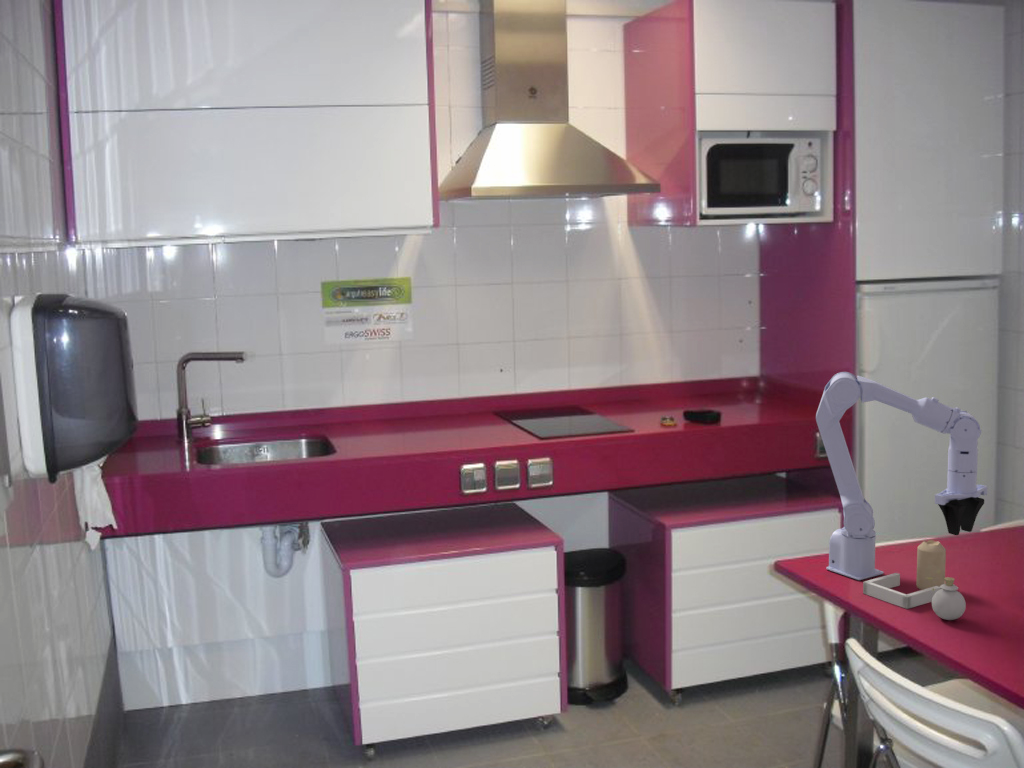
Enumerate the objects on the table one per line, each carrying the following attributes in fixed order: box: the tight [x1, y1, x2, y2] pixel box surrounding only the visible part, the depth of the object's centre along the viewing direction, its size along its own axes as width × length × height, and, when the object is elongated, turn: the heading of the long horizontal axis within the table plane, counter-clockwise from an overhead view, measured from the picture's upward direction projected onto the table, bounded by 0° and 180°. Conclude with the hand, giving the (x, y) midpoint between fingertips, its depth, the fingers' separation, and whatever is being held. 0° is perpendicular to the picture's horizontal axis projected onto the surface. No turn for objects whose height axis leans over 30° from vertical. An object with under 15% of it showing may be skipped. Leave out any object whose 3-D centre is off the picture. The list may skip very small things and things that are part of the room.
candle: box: [915, 539, 947, 590], centre depth 217 cm, size 6×6×10 cm
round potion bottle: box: [926, 569, 967, 621], centre depth 200 cm, size 6×7×10 cm
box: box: [862, 572, 941, 610], centre depth 214 cm, size 11×10×2 cm
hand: (960, 532), depth 221 cm, fingers open, 4 cm apart
